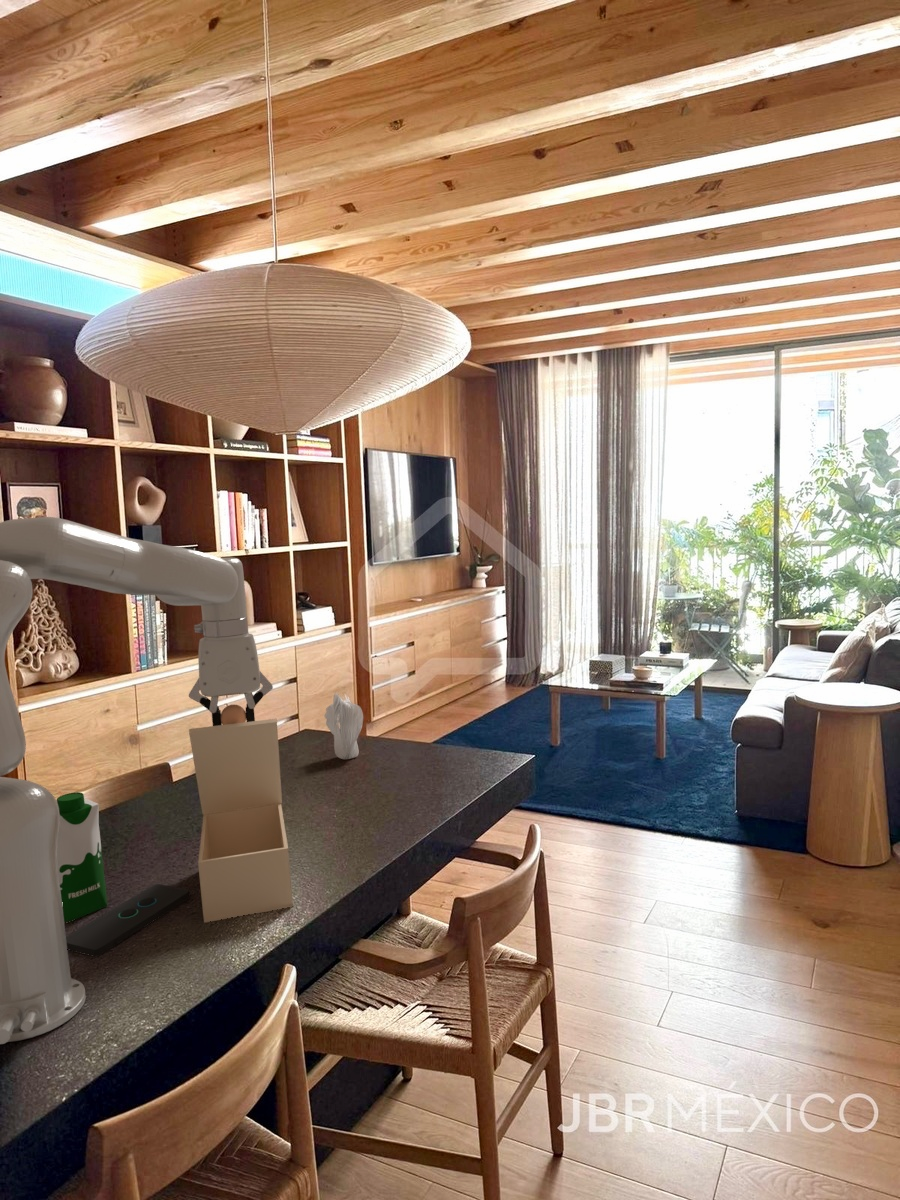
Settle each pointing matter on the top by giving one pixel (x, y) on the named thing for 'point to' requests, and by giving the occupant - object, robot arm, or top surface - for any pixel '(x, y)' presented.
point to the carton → (244, 863)
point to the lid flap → (236, 762)
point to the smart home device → (125, 919)
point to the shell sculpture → (344, 726)
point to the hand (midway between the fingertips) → (234, 730)
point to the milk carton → (80, 857)
